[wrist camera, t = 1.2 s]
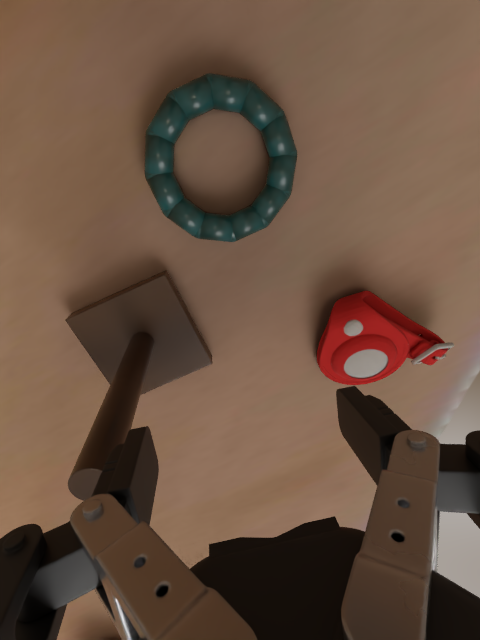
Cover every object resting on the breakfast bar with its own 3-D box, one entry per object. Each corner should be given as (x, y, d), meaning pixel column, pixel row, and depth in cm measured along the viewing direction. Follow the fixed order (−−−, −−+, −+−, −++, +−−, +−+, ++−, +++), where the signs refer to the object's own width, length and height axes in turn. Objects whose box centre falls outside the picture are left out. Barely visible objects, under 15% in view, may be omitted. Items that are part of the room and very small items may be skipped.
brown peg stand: (71, 313, 29) (-69, 454, 14) (166, 270, 29) (129, 367, 14) (125, 393, 33) (61, 577, 17) (212, 355, 32) (223, 511, 17)
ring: (118, 120, 24) (112, 115, 23) (260, 51, 24) (265, 41, 22) (188, 260, 29) (187, 265, 27) (310, 204, 28) (317, 206, 26)
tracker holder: (333, 404, 34) (303, 337, 28) (324, 371, 38) (296, 304, 32) (465, 371, 31) (462, 288, 25) (443, 338, 35) (435, 258, 29)
